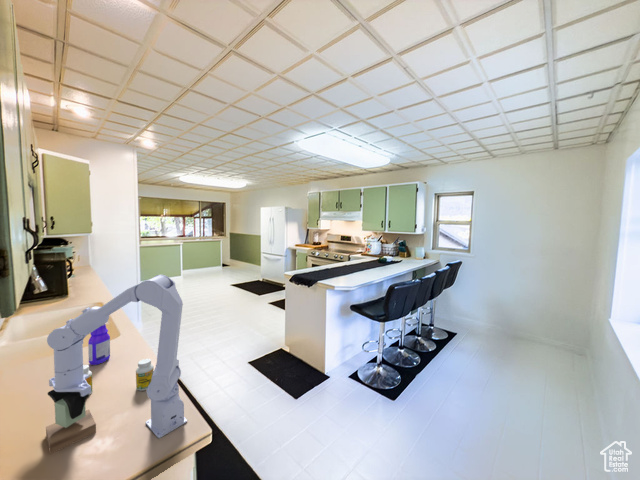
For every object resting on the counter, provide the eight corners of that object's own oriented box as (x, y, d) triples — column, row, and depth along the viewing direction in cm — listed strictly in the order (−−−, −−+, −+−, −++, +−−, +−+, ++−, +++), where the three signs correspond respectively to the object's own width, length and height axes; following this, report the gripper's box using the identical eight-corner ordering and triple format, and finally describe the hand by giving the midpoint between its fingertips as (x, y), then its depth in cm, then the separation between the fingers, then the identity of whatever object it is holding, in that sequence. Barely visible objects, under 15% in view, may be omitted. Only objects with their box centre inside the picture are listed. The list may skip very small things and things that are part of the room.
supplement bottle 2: (153, 380, 97) (153, 356, 97) (154, 388, 93) (153, 362, 92) (136, 385, 94) (136, 360, 94) (135, 393, 90) (135, 366, 89)
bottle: (102, 357, 114) (101, 318, 113) (113, 358, 113) (112, 319, 113) (85, 365, 107) (84, 324, 106) (97, 366, 106) (96, 325, 105)
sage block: (85, 416, 73) (85, 395, 73) (65, 427, 69) (65, 406, 69) (75, 412, 75) (74, 392, 74) (55, 423, 70) (54, 402, 70)
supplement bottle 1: (95, 392, 90) (95, 365, 89) (76, 401, 85) (75, 373, 85) (87, 388, 92) (87, 362, 92) (68, 397, 87) (67, 369, 87)
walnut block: (96, 433, 73) (95, 423, 72) (50, 455, 66) (49, 444, 65) (89, 418, 78) (88, 409, 78) (46, 437, 71) (46, 426, 71)
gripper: (103, 364, 73) (104, 410, 73) (70, 355, 77) (71, 399, 78) (72, 378, 66) (74, 428, 66) (38, 367, 70) (40, 415, 71)
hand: (70, 414), depth 72 cm, fingers closed on sage block, 4 cm apart
